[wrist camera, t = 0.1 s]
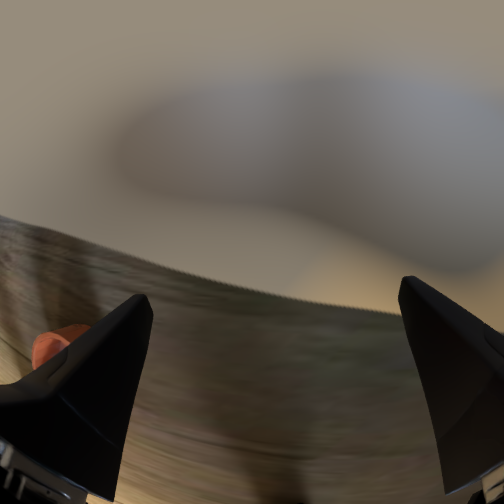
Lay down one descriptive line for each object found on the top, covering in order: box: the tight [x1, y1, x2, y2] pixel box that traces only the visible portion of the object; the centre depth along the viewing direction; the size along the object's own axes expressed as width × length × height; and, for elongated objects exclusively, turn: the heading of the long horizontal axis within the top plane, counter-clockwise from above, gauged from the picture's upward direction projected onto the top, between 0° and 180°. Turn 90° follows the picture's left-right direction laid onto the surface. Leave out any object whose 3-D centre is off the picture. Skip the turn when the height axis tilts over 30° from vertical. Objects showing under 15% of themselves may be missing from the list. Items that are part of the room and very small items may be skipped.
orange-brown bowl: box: [32, 324, 91, 370], centre depth 24 cm, size 9×9×5 cm
